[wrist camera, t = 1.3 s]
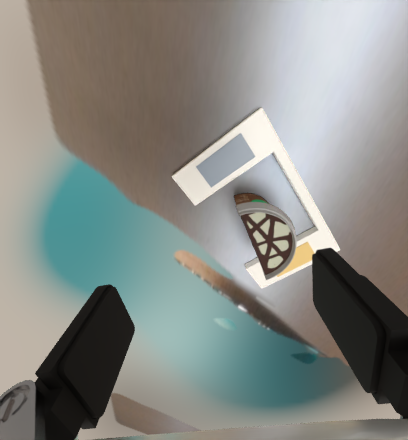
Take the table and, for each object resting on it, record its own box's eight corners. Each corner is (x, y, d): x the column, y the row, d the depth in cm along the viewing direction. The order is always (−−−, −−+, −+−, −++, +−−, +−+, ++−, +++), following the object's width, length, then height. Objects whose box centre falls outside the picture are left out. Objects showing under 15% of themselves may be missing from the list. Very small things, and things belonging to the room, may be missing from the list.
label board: (259, 108, 29) (262, 107, 28) (336, 245, 39) (341, 250, 37) (173, 174, 34) (171, 177, 32) (260, 283, 43) (262, 289, 42)
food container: (286, 234, 38) (310, 269, 29) (254, 245, 39) (267, 283, 30) (266, 172, 33) (287, 192, 24) (230, 187, 35) (237, 211, 26)
